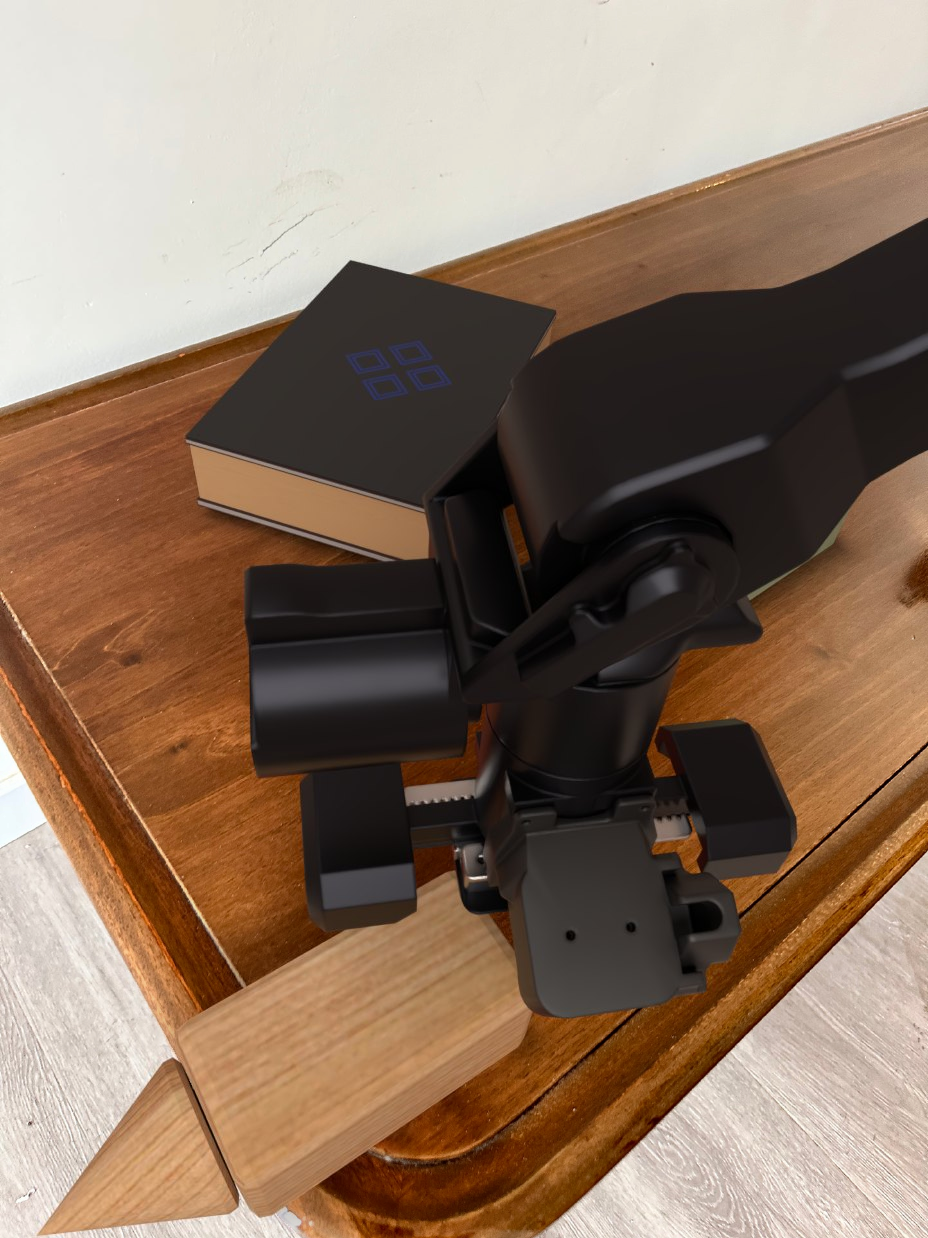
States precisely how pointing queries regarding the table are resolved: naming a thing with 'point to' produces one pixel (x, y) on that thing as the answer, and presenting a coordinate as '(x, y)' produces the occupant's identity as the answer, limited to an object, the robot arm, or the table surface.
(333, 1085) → the decorative item
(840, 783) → the table surface
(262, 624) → the robot arm
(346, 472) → the book
